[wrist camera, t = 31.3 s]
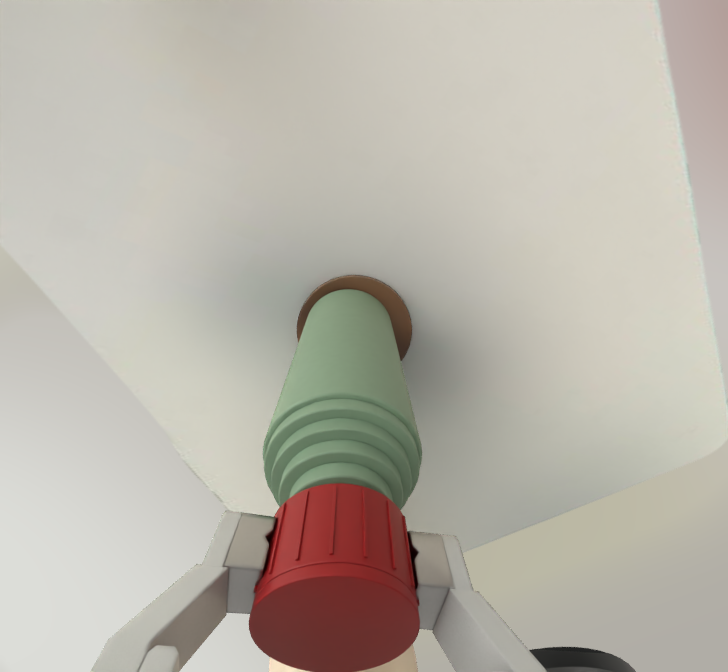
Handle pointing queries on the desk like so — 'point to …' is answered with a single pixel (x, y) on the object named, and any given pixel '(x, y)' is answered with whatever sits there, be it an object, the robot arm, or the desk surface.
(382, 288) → the coaster
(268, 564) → the cap
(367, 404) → the bottle
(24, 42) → the desk surface
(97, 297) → the desk surface
